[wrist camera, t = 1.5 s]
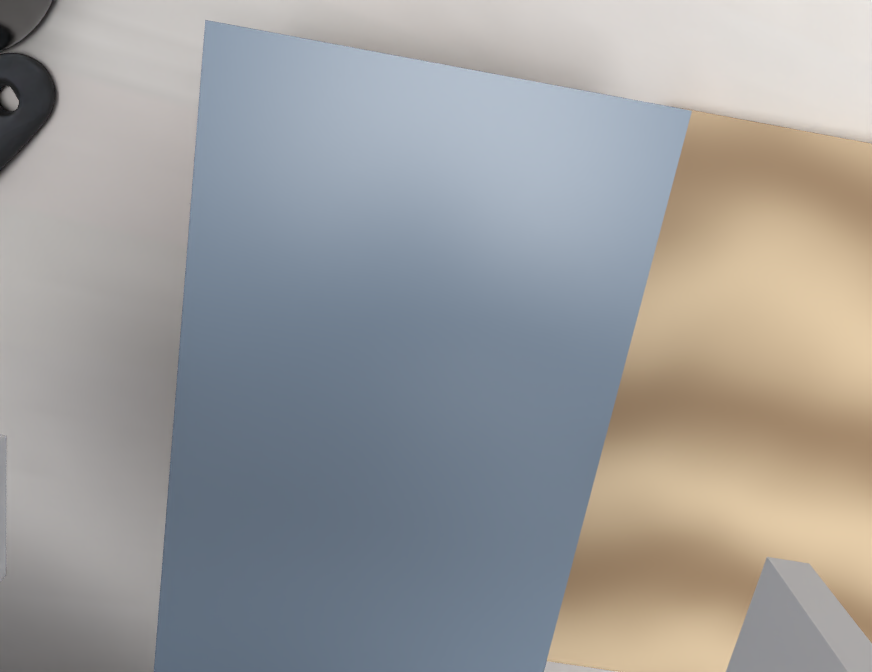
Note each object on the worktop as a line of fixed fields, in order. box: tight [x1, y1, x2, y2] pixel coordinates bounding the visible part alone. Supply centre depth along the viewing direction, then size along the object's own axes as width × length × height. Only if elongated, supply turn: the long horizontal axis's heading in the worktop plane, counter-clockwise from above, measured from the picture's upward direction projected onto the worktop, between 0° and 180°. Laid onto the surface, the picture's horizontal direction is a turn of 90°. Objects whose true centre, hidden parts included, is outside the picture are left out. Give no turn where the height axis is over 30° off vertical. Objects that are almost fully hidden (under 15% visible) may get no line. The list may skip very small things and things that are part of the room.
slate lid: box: [154, 20, 692, 672], centre depth 20 cm, size 17×10×4 cm, turn 170°
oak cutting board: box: [547, 108, 872, 672], centre depth 26 cm, size 20×14×2 cm
